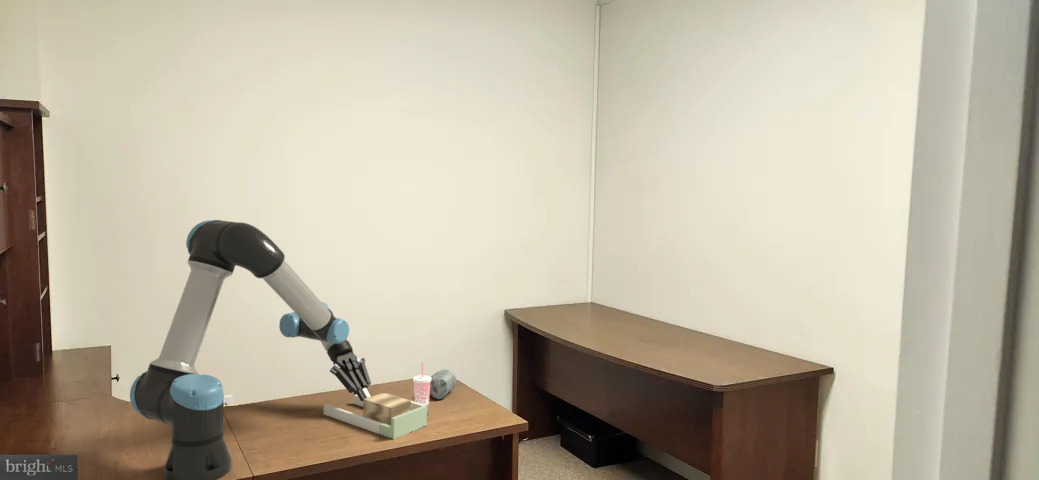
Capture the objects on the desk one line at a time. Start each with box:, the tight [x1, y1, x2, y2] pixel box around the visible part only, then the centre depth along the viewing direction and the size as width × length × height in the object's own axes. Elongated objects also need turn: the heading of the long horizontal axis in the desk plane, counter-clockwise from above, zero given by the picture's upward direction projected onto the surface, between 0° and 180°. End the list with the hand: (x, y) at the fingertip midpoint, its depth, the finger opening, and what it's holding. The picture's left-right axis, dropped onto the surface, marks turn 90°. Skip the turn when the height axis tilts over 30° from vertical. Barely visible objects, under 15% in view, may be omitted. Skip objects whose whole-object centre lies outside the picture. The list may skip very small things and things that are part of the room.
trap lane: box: [323, 393, 429, 440], centre depth 208 cm, size 31×20×6 cm, turn 54°
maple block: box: [362, 392, 412, 426], centre depth 203 cm, size 12×8×8 cm, turn 54°
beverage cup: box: [412, 362, 432, 406], centre depth 220 cm, size 6×6×14 cm
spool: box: [429, 369, 457, 400], centre depth 231 cm, size 14×10×10 cm
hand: (371, 408), depth 207 cm, fingers closed
